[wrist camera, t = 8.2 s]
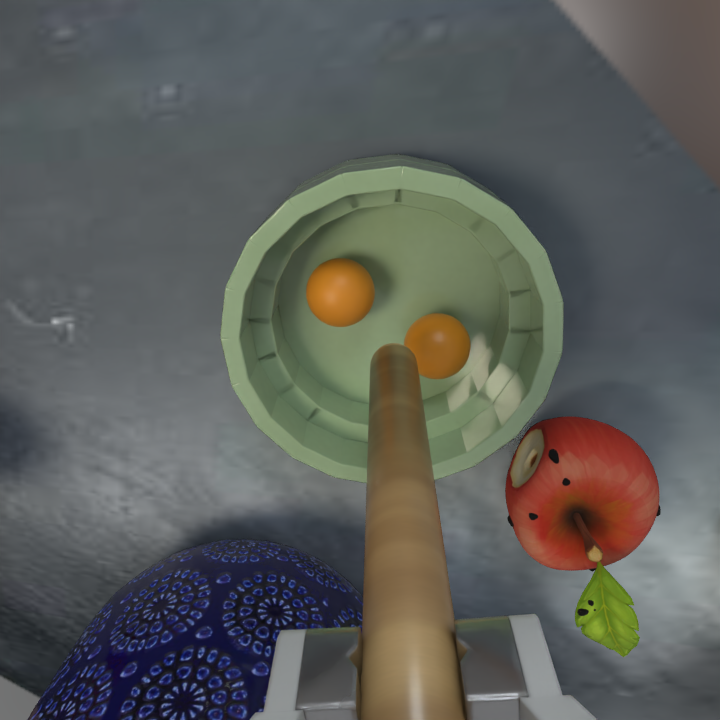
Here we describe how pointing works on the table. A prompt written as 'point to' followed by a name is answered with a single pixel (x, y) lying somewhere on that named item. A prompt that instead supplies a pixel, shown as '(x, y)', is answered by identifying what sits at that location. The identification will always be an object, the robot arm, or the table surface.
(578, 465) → the apple
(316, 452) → the bowl
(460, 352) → the bead
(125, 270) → the table surface
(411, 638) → the stick
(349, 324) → the bead
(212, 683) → the planter
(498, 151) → the table surface
